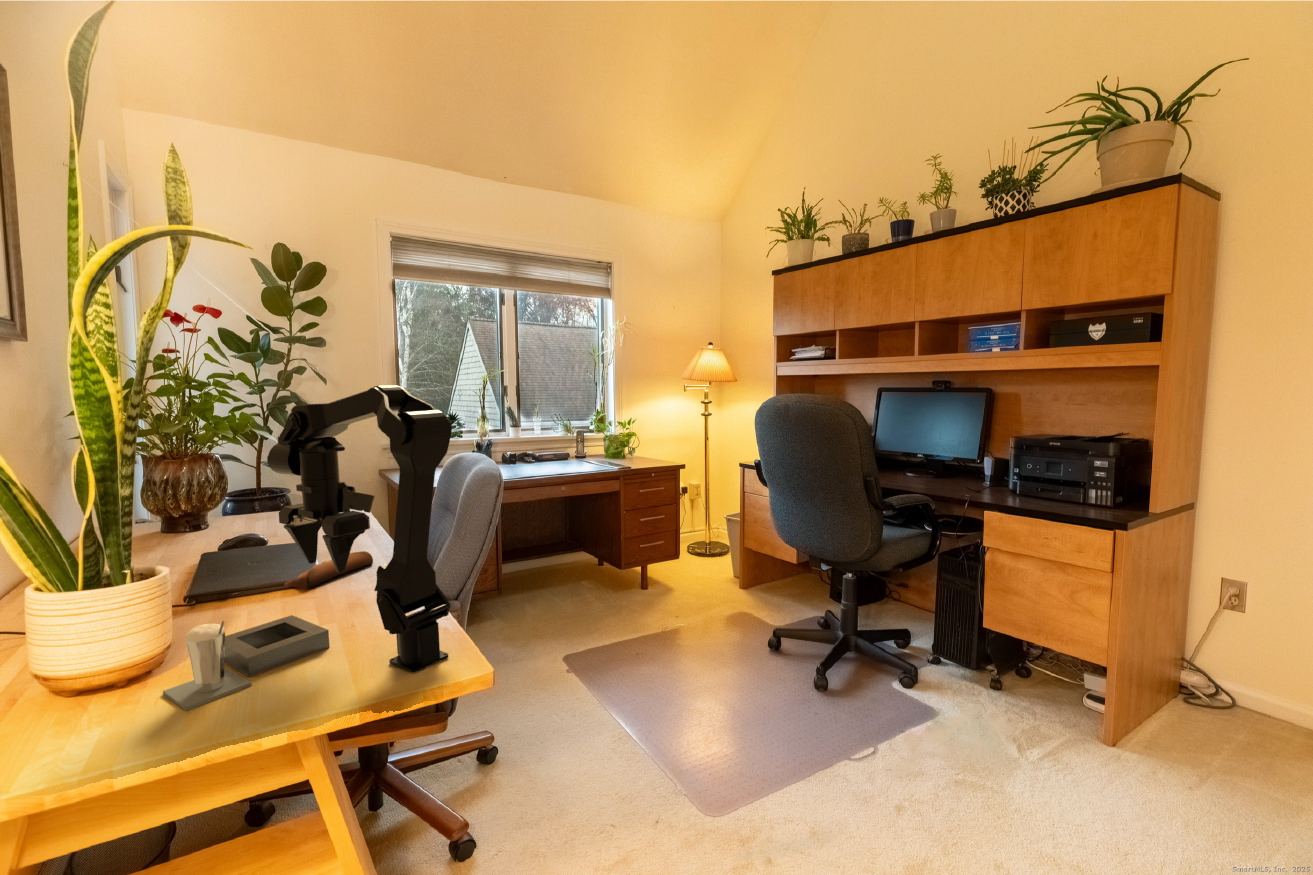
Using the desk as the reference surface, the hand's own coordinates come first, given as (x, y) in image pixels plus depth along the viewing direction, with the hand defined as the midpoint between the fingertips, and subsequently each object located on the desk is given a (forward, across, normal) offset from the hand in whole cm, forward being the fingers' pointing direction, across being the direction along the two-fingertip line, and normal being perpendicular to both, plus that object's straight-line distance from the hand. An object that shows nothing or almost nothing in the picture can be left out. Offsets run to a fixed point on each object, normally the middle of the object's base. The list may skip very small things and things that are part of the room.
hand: (326, 567), depth 105 cm
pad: (+12, -4, +20) cm, 24 cm away
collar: (+12, +1, +9) cm, 15 cm away
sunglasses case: (+13, +33, -18) cm, 39 cm away
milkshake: (+12, -5, +20) cm, 23 cm away
